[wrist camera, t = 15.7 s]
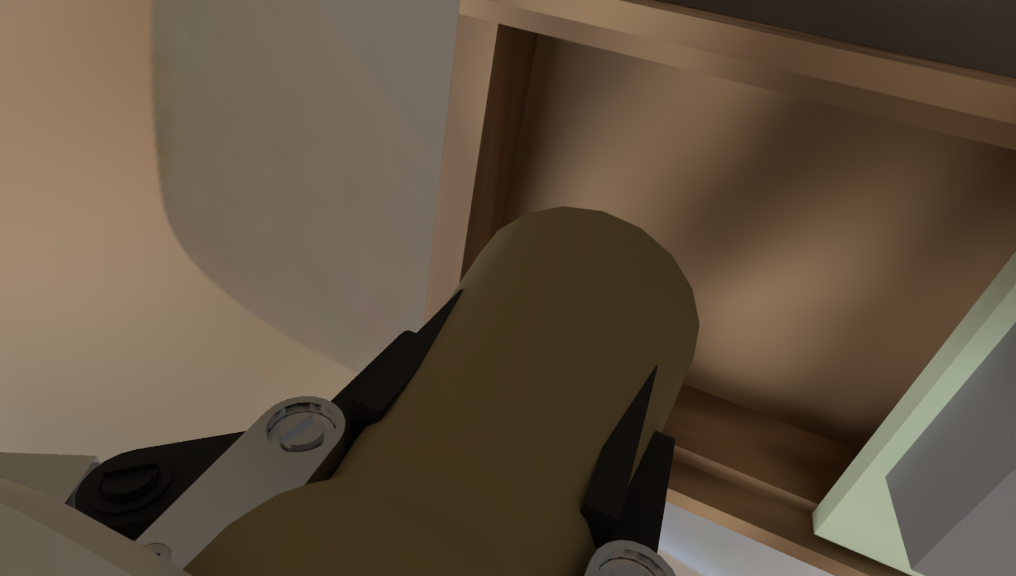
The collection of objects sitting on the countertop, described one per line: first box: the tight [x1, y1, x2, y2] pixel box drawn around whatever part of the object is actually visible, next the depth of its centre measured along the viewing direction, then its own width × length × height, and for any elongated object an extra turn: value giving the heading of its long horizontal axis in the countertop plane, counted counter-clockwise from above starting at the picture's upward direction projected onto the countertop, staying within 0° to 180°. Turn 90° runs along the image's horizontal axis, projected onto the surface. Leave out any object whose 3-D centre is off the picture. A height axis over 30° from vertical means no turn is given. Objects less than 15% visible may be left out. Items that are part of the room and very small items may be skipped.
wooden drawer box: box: [424, 0, 1016, 576], centre depth 17 cm, size 18×14×6 cm
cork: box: [183, 206, 700, 576], centre depth 9 cm, size 6×6×11 cm
